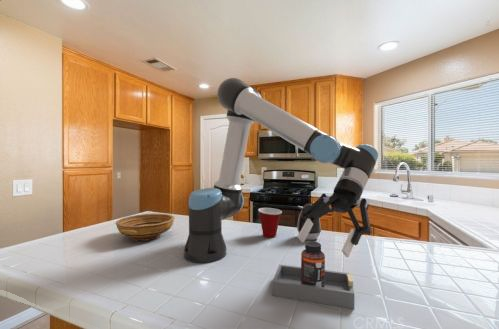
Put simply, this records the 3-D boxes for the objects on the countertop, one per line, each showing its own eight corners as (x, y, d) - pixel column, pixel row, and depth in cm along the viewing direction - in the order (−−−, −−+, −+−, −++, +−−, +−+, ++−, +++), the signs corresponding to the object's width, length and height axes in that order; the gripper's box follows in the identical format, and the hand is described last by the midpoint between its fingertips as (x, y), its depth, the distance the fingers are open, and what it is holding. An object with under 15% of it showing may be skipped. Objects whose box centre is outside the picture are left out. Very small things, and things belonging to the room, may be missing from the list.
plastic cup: (275, 241, 101) (275, 213, 101) (253, 237, 106) (253, 210, 106) (285, 234, 110) (285, 208, 110) (265, 231, 116) (265, 206, 115)
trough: (272, 295, 60) (272, 276, 60) (279, 276, 70) (279, 260, 70) (354, 308, 54) (354, 288, 54) (349, 286, 64) (349, 268, 64)
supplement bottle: (326, 294, 59) (326, 248, 58) (301, 291, 60) (301, 247, 59) (323, 282, 64) (323, 240, 64) (300, 280, 65) (300, 239, 65)
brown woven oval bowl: (153, 250, 91) (153, 229, 91) (96, 246, 94) (96, 226, 94) (185, 228, 120) (185, 213, 120) (141, 226, 124) (141, 211, 124)
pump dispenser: (294, 235, 110) (294, 202, 110) (316, 234, 111) (316, 201, 111) (300, 242, 100) (300, 206, 99) (324, 241, 100) (324, 205, 100)
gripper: (399, 199, 64) (374, 270, 55) (320, 190, 84) (291, 241, 74) (391, 180, 61) (363, 253, 52) (311, 175, 80) (279, 227, 71)
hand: (320, 246), depth 63 cm, fingers open, 13 cm apart
